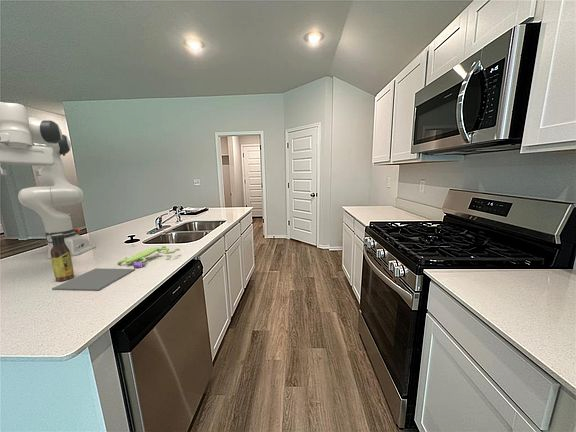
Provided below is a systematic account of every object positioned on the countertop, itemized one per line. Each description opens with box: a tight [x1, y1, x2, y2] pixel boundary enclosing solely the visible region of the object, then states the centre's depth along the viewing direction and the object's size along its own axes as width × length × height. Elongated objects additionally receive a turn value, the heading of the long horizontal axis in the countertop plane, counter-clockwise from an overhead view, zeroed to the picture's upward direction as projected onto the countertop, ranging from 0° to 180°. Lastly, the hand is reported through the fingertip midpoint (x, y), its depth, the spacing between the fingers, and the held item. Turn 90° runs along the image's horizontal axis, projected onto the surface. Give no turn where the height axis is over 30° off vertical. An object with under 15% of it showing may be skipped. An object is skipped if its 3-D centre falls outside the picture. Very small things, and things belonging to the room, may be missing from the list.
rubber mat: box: [51, 267, 136, 292], centre depth 104 cm, size 20×20×1 cm
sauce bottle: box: [51, 234, 75, 282], centre depth 104 cm, size 7×6×20 cm
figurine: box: [117, 245, 181, 269], centre depth 126 cm, size 18×27×6 cm
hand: (21, 175), depth 98 cm, fingers open, 8 cm apart
